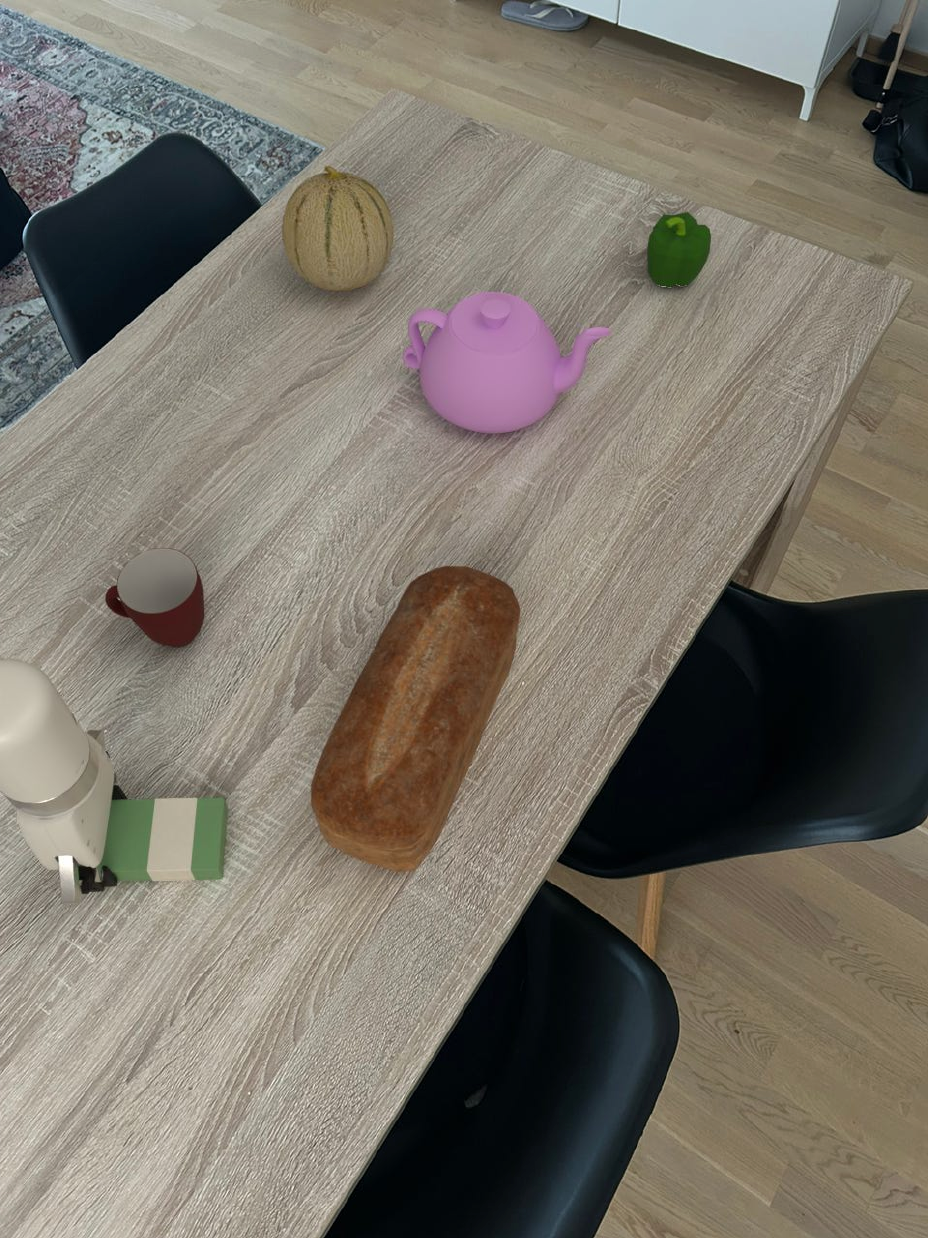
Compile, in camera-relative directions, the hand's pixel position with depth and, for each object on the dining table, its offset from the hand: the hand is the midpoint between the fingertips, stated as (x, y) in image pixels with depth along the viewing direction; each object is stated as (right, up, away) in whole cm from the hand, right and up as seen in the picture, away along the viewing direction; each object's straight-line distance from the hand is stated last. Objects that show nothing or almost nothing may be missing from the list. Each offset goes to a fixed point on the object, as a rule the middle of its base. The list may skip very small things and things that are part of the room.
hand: (106, 842), depth 98 cm
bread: (+29, +9, +8) cm, 32 cm away
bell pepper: (+62, +68, +46) cm, 103 cm away
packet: (+4, 0, +1) cm, 5 cm away
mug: (+2, +20, +14) cm, 24 cm away
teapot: (+38, +50, +34) cm, 71 cm away
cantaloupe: (+17, +68, +44) cm, 83 cm away
